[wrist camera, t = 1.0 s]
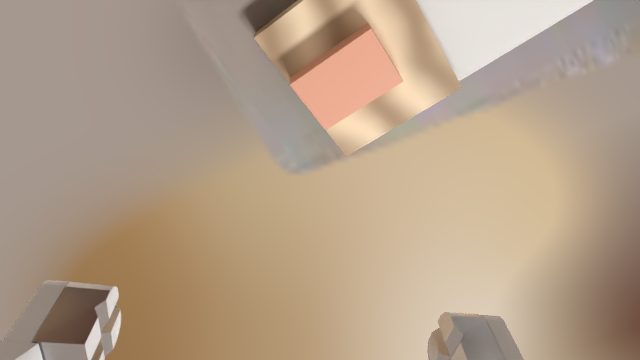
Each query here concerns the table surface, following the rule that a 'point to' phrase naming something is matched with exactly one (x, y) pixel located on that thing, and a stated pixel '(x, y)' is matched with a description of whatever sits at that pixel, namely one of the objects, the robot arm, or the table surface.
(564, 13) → the mat
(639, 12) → the table surface
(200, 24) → the table surface
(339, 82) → the pink rectangular block
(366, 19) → the riser
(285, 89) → the table surface
